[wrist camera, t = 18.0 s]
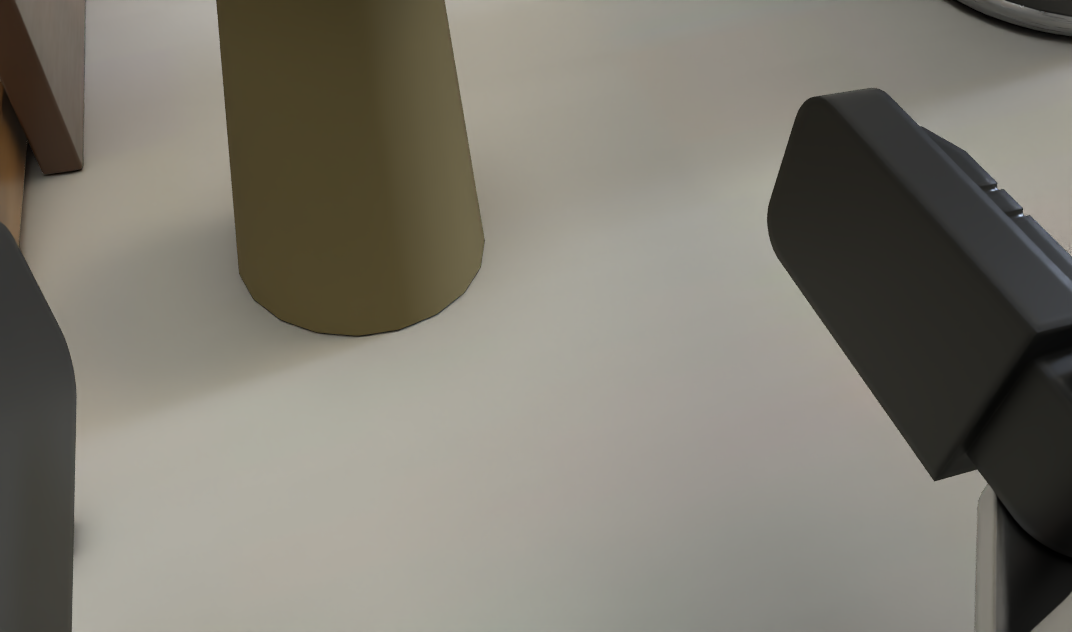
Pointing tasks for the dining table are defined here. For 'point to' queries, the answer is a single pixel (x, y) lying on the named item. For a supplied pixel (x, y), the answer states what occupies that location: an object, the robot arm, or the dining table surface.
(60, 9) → the cabinet
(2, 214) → the drawer
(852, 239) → the robot arm
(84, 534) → the dining table surface
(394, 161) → the olive peg doll
